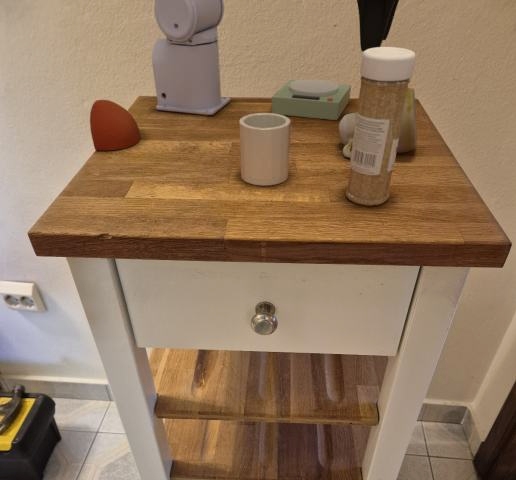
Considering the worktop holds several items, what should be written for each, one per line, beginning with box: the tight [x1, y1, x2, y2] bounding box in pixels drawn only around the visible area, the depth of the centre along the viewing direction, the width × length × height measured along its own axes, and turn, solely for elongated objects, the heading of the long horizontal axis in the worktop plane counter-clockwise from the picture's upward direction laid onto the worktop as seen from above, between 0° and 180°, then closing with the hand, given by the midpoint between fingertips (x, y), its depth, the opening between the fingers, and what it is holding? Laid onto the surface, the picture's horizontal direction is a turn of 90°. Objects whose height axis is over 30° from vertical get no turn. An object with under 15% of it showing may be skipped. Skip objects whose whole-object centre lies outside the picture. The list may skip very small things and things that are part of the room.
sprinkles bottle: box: [345, 46, 416, 207], centre depth 45 cm, size 5×5×13 cm
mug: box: [338, 87, 418, 160], centre depth 58 cm, size 8×10×10 cm
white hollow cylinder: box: [238, 112, 291, 187], centre depth 52 cm, size 5×5×6 cm
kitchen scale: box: [271, 78, 352, 121], centre depth 72 cm, size 10×10×3 cm
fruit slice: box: [89, 99, 141, 152], centre depth 62 cm, size 8×7×5 cm
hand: (374, 45), depth 60 cm, fingers open, 7 cm apart
